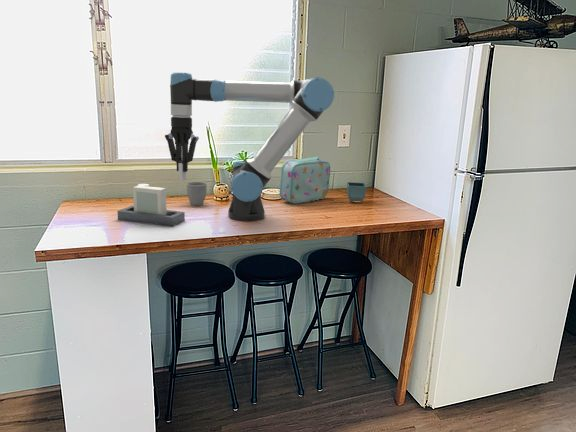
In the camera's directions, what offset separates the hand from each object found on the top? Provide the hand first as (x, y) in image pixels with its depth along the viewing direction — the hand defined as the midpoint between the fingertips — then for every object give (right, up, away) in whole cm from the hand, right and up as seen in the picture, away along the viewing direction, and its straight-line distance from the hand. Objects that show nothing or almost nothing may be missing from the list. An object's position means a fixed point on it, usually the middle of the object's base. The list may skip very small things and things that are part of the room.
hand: (182, 180), depth 177 cm
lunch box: (+48, -6, +52) cm, 71 cm away
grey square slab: (-14, -14, +8) cm, 22 cm away
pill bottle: (-21, -11, +22) cm, 33 cm away
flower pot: (+73, -7, +54) cm, 91 cm away
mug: (-2, -8, +37) cm, 38 cm away
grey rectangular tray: (-14, -15, +8) cm, 22 cm away
